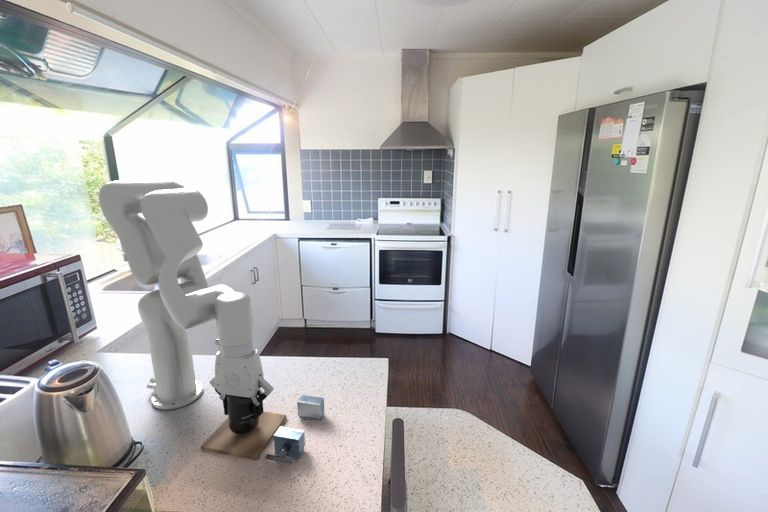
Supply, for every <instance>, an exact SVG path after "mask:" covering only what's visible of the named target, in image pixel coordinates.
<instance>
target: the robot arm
mask: <svg viewBox="0 0 768 512" xmlns="http://www.w3.org/2000/svg"><path fill="white" fill-rule="evenodd" d="M98 199H99V200H98V201H99V206H100V210H101V212H102V214H103V217H104V218H105V220H106V221H107V223H108V225H109V226H110V227H111V228H112V230H113V231H114V232H115V234H116V236H117V238H118V239H119V241H120V243H121V246H122V250H123V254H124V255H125V258H126V261H127V264H128V266H129V268H130V272H131V274H132V276H133V278H134V280H135V281H136V282H137V284H139V285H140V286H142V287H147V286H148V287H149V286H155V285H158V289H154V290H152V291H149V292H148V293H146V294H145V295H143V296H142V297H141V298H140V299H139V301H138V303H137V309H138V314H139V316H140V317H139V318H140V320H141V321H142V324H143V327H144V330H145V334H146V337H147V342H148V348H149V353H150V359H151V365H152V371H153V376H152V377H150V379H149V382H148V383H147V385H146V388H147V389H150V390H151V389H153V392H154V393H153V395H152V396H151V399H150V400H151V404H152V406H153V407H154V408H155V409H157V410H162V411H163V410H166V411H167V410H173V409H174V410H175V409H179V408H183V407H185V406H188V405H190V404H192V403H193V402H194V401H196V400H197V399H198V398H199V397H200V396H201V395H202V393H203V391H204V387H203V386H204V385H203V384H202V382H201V381H199V380H196V375H195V365H194V359H193V352H192V345H191V338H190V333H189V332H188V330H189V329H193V328H196V327H199V326H202V325H205V324H206V323H210V322H212V321H215V327H216V334H217V339H215V341H214V344H215V345H216V346H218V351H217V352H216V354H215V355H216V356H215V360H214V361H215V363H214V377H213V378H212V379H211V380H210V381H209V384H210V385H211V387H212V389H213V388H214V391H215V392H216V393H217V394H218V396H219V399H220V400H221V401H222V406H223V413H224V415H225V416H228V408H227V395H233V396H240V397H247V398H251V399H252V401H253V403H254V404H253V405H252V412H253V419H254V420H257V419H258V417H259V416H260V415H261V414H262V413H263V412H264V402H263V401H264V400H266V399H267V398H268V396H269V395H270V394H271V393H272V392H273V391H274V389H275V388H274V387H273V385H271V384H270V383H269V382H268V381H267V380H266V378H264V370H263V365H262V361H261V357H260V353H259V350H258V349H257V348H256V345H255V344H256V343H255V331H254V319H253V311H252V310H253V308H252V307H253V306H252V299H251V296H250V295H249V294H248V293H247V292H243V291H237V290H236V289H234V288H233V287H232V286H230V285H228V284H225V283H220V284H216V285H213V286H209V284H208V282H207V278H206V275H205V273H204V270H203V267H202V264H201V262H200V260H199V257H198V255H197V254H198V253H200V251H201V250H202V248H203V245H204V244H203V241H202V239H201V237H200V235H199V234H198V232H197V230H196V228H195V226H194V224H193V222H200V221H203V220H204V219H206V218H207V216H208V212H209V207H208V203H207V200H206V198H205V196H204V195H203V194H202V193H201V192H200V191H199V190H197V189H196V188H194V187H192V186H190V185H188V184H185V183H183V182H180V181H177V180H175V179H173V178H134V179H133V178H132V179H131V178H127V179H117V180H113V181H109V182H107V183H105V184H103V185H102V186H101V188H100V189H99V192H98ZM138 214H142V216H143V217H142V216H141V215H138ZM179 281H180V283H179ZM262 390H263V391H262ZM256 394H257V395H258V398H257V396H256Z"/></svg>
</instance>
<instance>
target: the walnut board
mask: <svg viewBox="0 0 768 512" xmlns="http://www.w3.org/2000/svg"><path fill="white" fill-rule="evenodd" d="M286 420H287V415H286V414H280V413H275V412H270V411H269V412H268V411H263V413H262V414H261V415H260V416H259V423H258V425H257V427H256V428H255V429H254V430H252V431H250V432H248V433H245V434H236V433H233V432H232V431H231V430H230V428H229V420H228V417H227V418H226V419H225V420H224V421H223V422H222V423H221V425H219V426H218V427H217V429H216V430H215V431H214V432H213V433H212V434H211V435H210V436H209V438H207V439H206V441H205V442H203V444H202V445H201V446H200V450H201V451H205V452H208V453H209V452H210V453H214V454H220V455H225V456H231V457H234V458H241V459H246V460H252V461H255V462H257V461H258V460H259V458H260V457H261V455H262V454H263V453H264V451H265V450H266V449H267V447H268V446H269V444H270V443H271V441H272V440H273V439H274V434H275V433H276V431H277V430H278V429H279V427H280V426H281V427H283V426H282V425H284V422H285V421H286Z"/></svg>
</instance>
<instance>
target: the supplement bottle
mask: <svg viewBox="0 0 768 512" xmlns="http://www.w3.org/2000/svg"><path fill="white" fill-rule="evenodd" d="M256 396H257V398H258V395H257V394H256ZM253 404H254V403H253V401H252V399H251V398H247V397H240V396H233V395H227V408H228V415H227V418H228V420H229V428H230V430H231V431H232V432H233V433H236V434H245V433H248V432H250V431H252V430H254V429H255V428H256V427H257V425H258V423H259V417H258V419H257V420H254V419H253V412H252V405H253Z"/></svg>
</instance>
